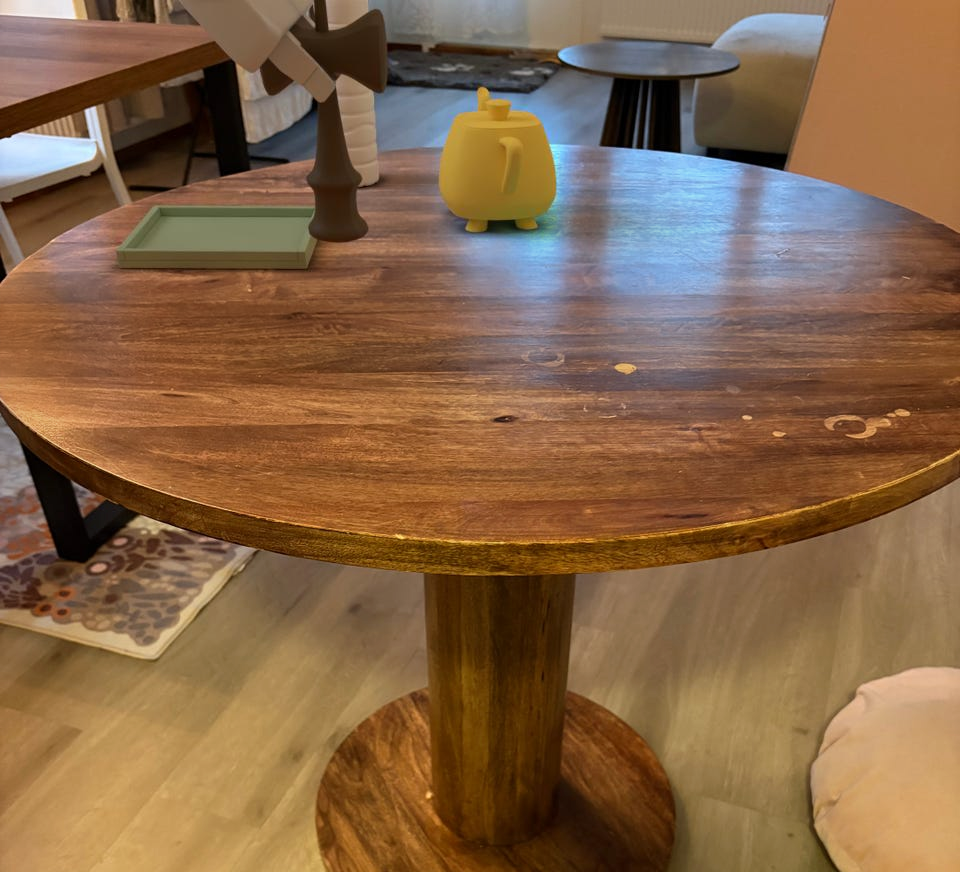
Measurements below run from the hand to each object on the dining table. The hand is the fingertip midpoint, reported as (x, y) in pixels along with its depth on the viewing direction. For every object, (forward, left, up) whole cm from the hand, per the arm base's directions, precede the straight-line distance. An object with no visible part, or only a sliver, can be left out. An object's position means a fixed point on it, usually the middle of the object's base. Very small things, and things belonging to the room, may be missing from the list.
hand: (335, 84), depth 71 cm
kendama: (-1, 0, -12) cm, 12 cm away
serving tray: (-16, +24, -20) cm, 35 cm away
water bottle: (-4, +48, -20) cm, 52 cm away
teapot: (+14, +34, -20) cm, 41 cm away
